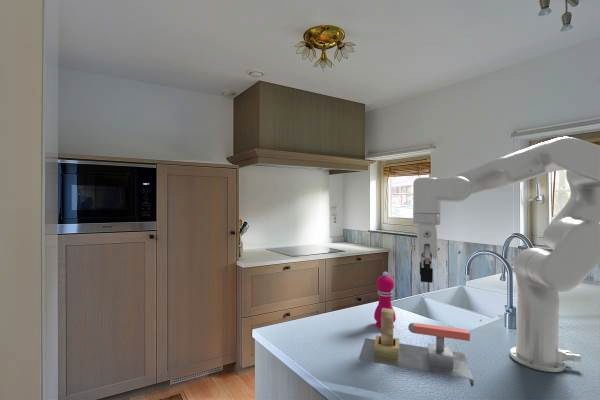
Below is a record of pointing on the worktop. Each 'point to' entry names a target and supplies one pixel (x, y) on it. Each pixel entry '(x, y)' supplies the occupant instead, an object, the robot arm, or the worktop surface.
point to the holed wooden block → (386, 348)
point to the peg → (387, 326)
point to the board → (422, 359)
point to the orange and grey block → (439, 333)
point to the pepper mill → (384, 297)
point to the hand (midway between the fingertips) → (425, 278)
